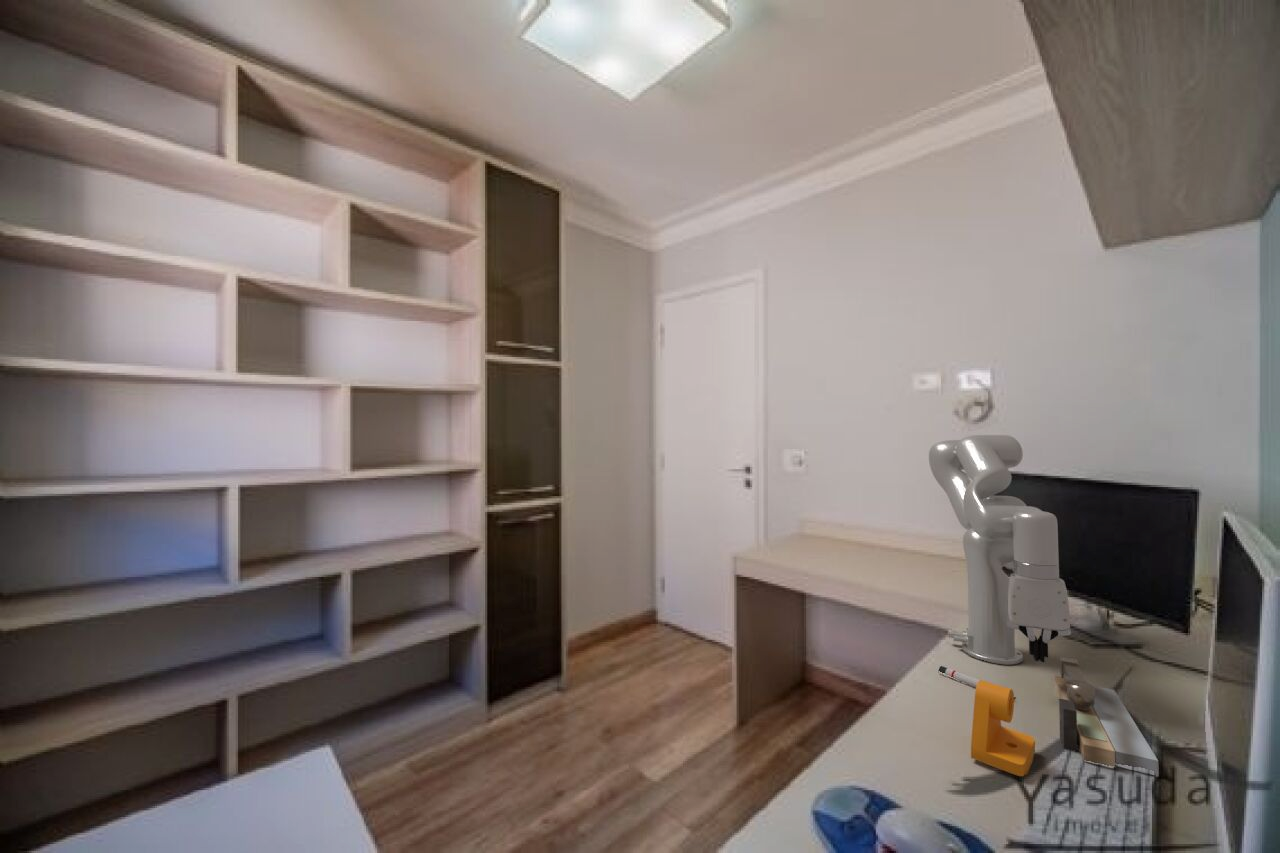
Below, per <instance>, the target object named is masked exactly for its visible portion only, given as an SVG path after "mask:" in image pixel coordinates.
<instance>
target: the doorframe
mask: <svg viewBox="0 0 1280 853" xmlns="http://www.w3.org/2000/svg"><path fill="white" fill-rule="evenodd" d="M1093 686H1094V690H1095V705H1093V706H1084V705H1080V704H1077V703H1074V702H1072V701H1070V700H1069V699H1068V698H1067V685H1066V682H1065V680H1064V678H1061V676H1060V675H1056V674H1054V690H1055V693H1056V695H1057V698H1058V700H1059V701H1058V702H1059V703H1058V704H1059V705H1058V707H1059V708H1058V709H1059V711H1058V712H1059V739H1060V741H1061V744H1062V747H1063V749H1065V750H1069V751H1073V752H1078V751H1079V750H1080V751H1079V753H1080V752H1081V753H1080V755H1081V754H1082V756H1081V757H1083V758H1082V760H1083V759H1084V760H1086V761H1091V762H1094V763H1101V764H1104V765H1107V766H1109V765H1110V766H1115V763H1116V764H1121V765H1128V766H1132V767H1141V768H1145V769H1149V770H1152V771H1154V772H1155V774H1156V776H1155V777H1156V778H1159V774H1160V773H1159V760H1158V758H1157V757H1156V754H1155V753H1154V752H1153V749H1152V748H1151V747H1150V745H1149V744H1148V742H1147V740H1146V738H1145V737H1144V735H1143V734H1142V732H1141V731H1140V729H1139V727H1138V725H1137V724H1136V723H1135V721H1134V719H1133V717H1132V716H1131V714H1130V713H1129V711H1128V710H1127V708H1126V706H1125V705H1124V703H1123V701H1122V700H1121V698H1120V697H1119V695H1118V693H1117V692H1116V690H1115V689H1111V688H1106V687H1100V686H1095V685H1093ZM1077 745H1078V746H1077ZM1078 747H1079V748H1078ZM1115 767H1116V766H1115Z"/></svg>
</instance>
